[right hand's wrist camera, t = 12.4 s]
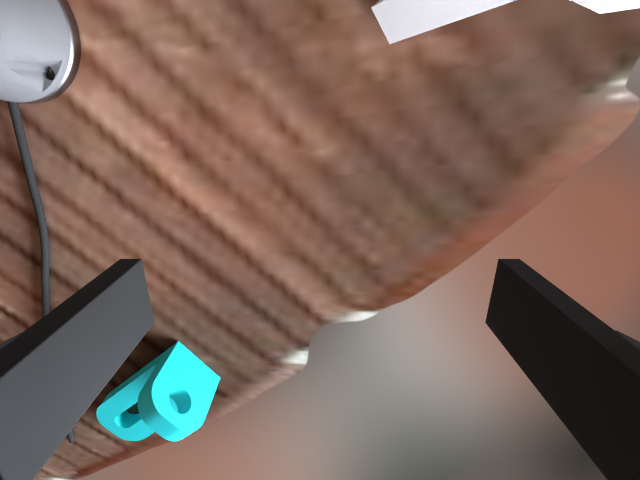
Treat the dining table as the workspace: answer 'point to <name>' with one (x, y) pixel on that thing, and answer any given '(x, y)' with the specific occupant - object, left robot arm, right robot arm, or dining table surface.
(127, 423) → the bracket
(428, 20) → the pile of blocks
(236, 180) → the dining table surface
